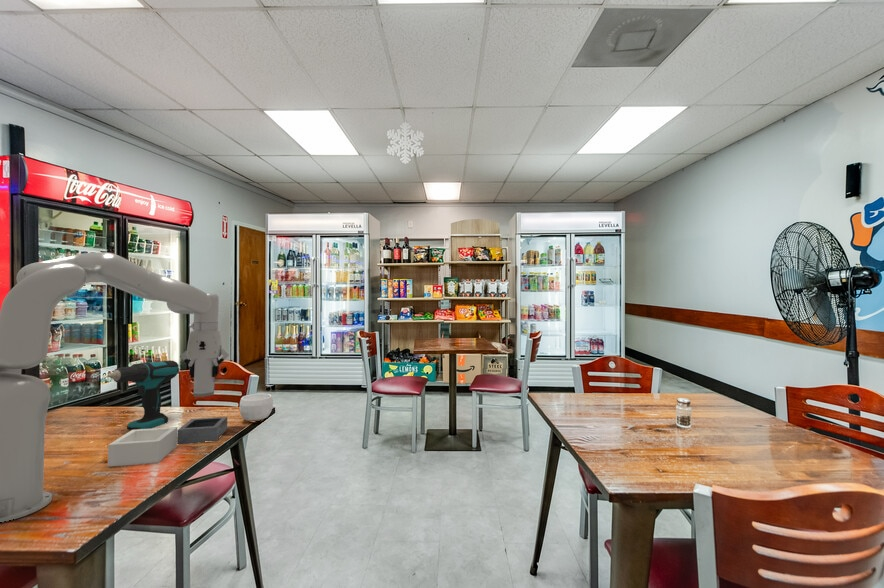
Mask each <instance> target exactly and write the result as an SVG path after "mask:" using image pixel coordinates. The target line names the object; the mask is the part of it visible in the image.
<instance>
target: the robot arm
mask: <svg viewBox="0 0 884 588" xmlns="http://www.w3.org/2000/svg"><path fill="white" fill-rule="evenodd" d="M15 279H16V284H15V285H14V286H13V287H12V288H11V289H10V290H9V291H8V293H7V294H6V295H5V296H4V299H3V301H2V303H1V304H2V305H1V307H0V522H2V523H5V522H4V521H6V522H10V521H9V520H11V521H14V520H17V519H20V518H23V517H26V516H29V515H31V514H34V513H36V512H38V511H40V510H41V509H43V508H45V507H46V506H48V505H49V504H50V503H51V502H52V500H53V494H52V493H51V492H49V491H44V475H45V474H44V471H45V469H44V468H45V464H44V463H45V433H46V432H45V431H46V419H47V418H46V417H47V413H48V409H49V405H50V401H51V395H52V394H51V390H50V386H49V385H48V384H47V382H46V381H44V380H43V379H41V378H39V377H37V376H33V375H29V374H22V370H26V369H31V368H34V367H37V366H38V365H40V364H41V363H43V362H44V361H45V359H46V358H47V356H48V351H49V344H50V334H51V327H52V319H53V316H54V315H53V314H54V311H55V309H56V307H57V306H58V304H59V303H60V302H61V301H62V300H63V299H65V298H66V297H67V296H69V295H71V294H73V293H74V294H75V293H76V292H78V291H80V290H81V289H83V287H84V286H85V284H89V283H103V284H106V285H109V286H111V287H114V288H116V289H118V290H121V291H123V292H125V293H128V294H130V295H133V296H134V297H138V298H141V299H145V300H150V301H158V302H164V303H166V306H167V309H168V310H169V311H171V312H173V313H175V314H181V315H185V314H186V315H189V314H190V315H193V322H192V323H190V324H189V325H188V328H190V329H192V330H190V332H189V335H188V341H187V347H186V350H185V351H184V352H183V353H181V354H180V355H179V358H180V359H181V360H182V361H184V363H185V364H187V366H188V367H189V376H190V378H191V379H194V366H195V359H199V352H201V351H199V349H200V348H203V347H199V343H200V342H201V341H204V342H205V343H204V344H206V346H204V348H206V350H205V351H204V352H205V358H206V359H212V361H213V363H214V366H213V372H212V377H214V378H216V377H218V375H219V373H220V365H221V364H223V362H225V360H226V359H228V358H229V356H230V354H229V353H228V352H227V351H226V350H224V348H222V346H223V345H222V336H221V331H220V330H218V328H219V304H220V303H219V302H220V301H219V300H220V299H219V297H220V296H219V295H218V294H217V293H209V292H205V291H203V290H201V289H200V288H197V287H195V286H193V285H192V284H188V283H186V282H183V281H179V280H176V279H173V278H171V277H168V276H165V275H161V274H158V273H156V272H154V271H151V270H150V269H147V268H145V267H143V266H141V265H139V264H137V263H135V262H133V261H131V260H129V259H127V258H125V257H123V256H120V255H118V254H115V253H112V252H105V251H104V252H101V251H100V252H85V253H79V254H75V255H70V256H69V255H68V256H64V257H58V258H54V259H48V260H43V261H38V262H33V263H30V264H29V263H28V264H27V265H25V266H23V267H21V269H19V271H18V272H17V274H16V278H15ZM197 341H198V342H197ZM200 344H201V343H200ZM221 356H222V357H221ZM219 357H221V358H220V359H219ZM13 519H14V520H13Z"/></svg>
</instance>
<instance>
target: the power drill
mask: <svg viewBox="0 0 884 588" xmlns="http://www.w3.org/2000/svg"><path fill="white" fill-rule="evenodd" d="M179 366H180V365H179V363H178V362H176V360H175V361H174V360H161V361H152V362H146V361H145V362H141V363H133V364H131V366H123V367H117V368H115V369H114V370H113V371H112V372H111V374H109V375H108V374H107V376H106V377H107V378H111V379H112V380H113V382H115V383H127V382H128V383H129V382H131V383H133V384H135V387H137V389H138V391H137V394H136V396H141V405H142V408H143V416H142V417H141V418H139V419H136V420H133V421H130V422H128V423H127V425H126V429H127V430H129V429H132V428H133V429H134V428H135V429H153V428H157V427H159V426H162V425H164V424H165V423H166V424H167V422H168V423H169V417H168V416H167V415H166V414H164V413H163V412H161V406H162V397H161V396H162V395H161V392H160V391H161V390H160V389H161V386H162V385H163V384H166V383H168V382H170V381H171V380H172V379H173V378H175V377H176V376H177V375H178V373H179V372H180V367H179ZM156 426H157V427H156Z"/></svg>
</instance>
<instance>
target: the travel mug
mask: <svg viewBox="0 0 884 588" xmlns="http://www.w3.org/2000/svg"><path fill="white" fill-rule="evenodd" d="M197 342H198V341H197ZM200 343H201V344H200ZM200 343H199V347H203V348H200V349H199V351H201V352H199V359H195V366H194V378H193V397H194V398H195V397H196V398H205V397H210V396H213V395H214V394H215V377H212V372H213V366H214V363H213V361H212V359H206V358H205V352H204V351H205V350H206V348H204V346H206V344H204V343H205V342H204V341H201V342H200Z"/></svg>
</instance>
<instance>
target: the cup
mask: <svg viewBox="0 0 884 588" xmlns="http://www.w3.org/2000/svg"><path fill="white" fill-rule="evenodd" d="M273 404H274V400H273V397H272V394H270V393H263V392H262V393H251V394H247V395H243V396H242V397H241V398H240V401H239V412H240V416H241V418H242V419H243V420H244V421H245V420H246V421H248V422H249V421H260V420H261V421H260V422H262V421H264V419H267V418H268V417H269V416H270V414H271V412H272V410H273V407H274V405H273Z"/></svg>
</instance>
